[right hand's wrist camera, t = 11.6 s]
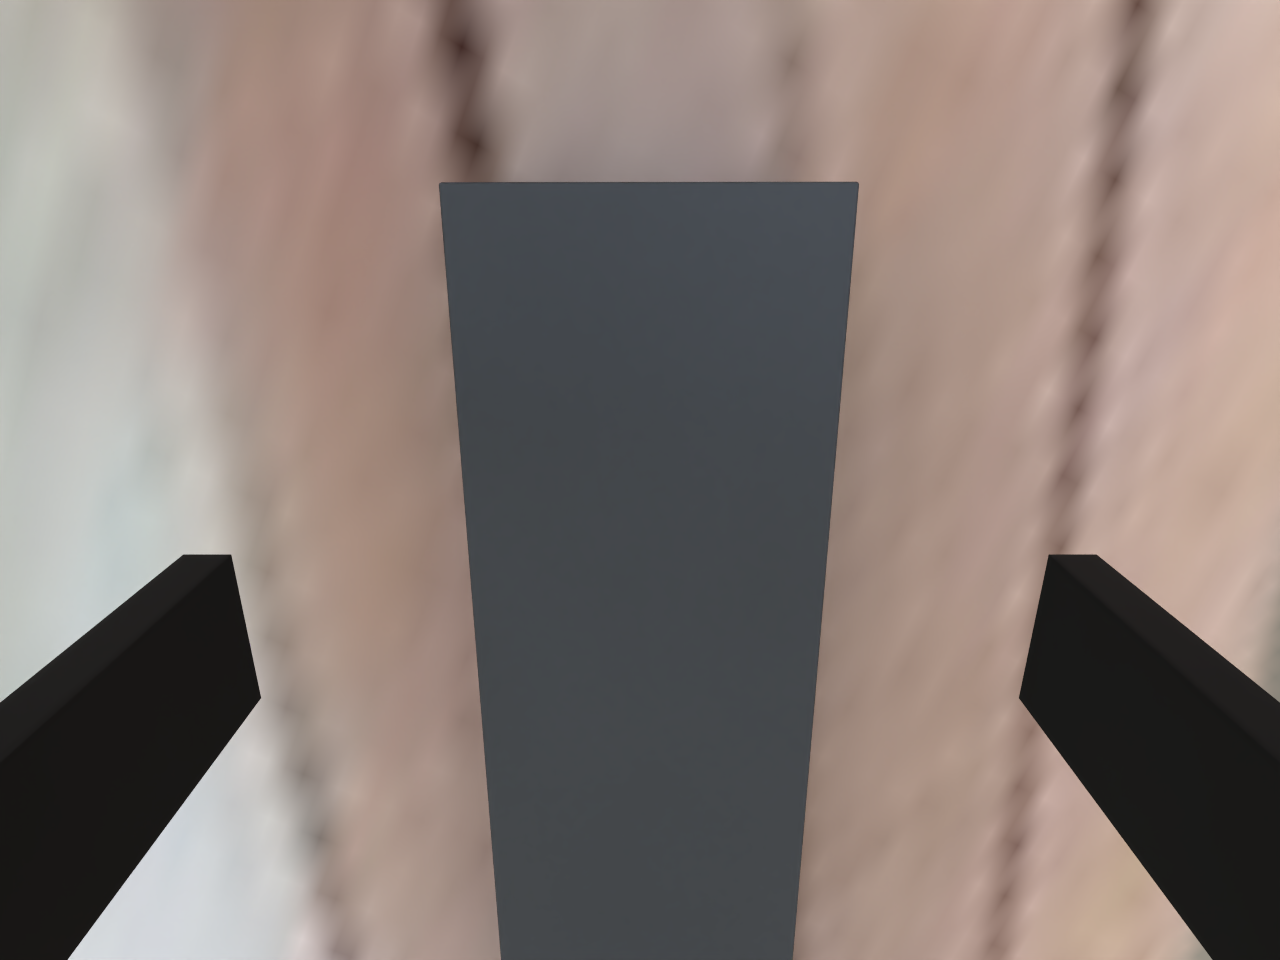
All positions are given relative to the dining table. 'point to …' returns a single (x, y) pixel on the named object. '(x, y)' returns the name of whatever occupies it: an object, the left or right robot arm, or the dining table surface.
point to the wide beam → (647, 547)
